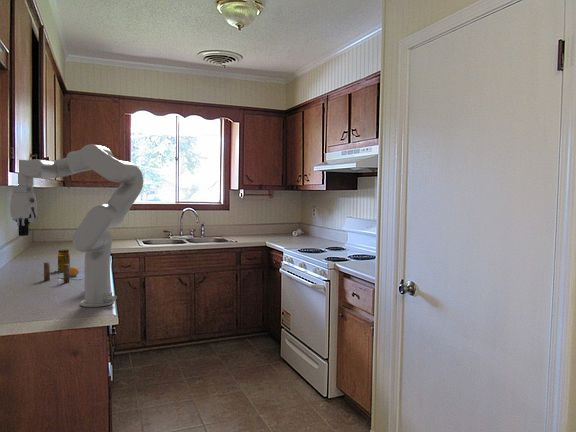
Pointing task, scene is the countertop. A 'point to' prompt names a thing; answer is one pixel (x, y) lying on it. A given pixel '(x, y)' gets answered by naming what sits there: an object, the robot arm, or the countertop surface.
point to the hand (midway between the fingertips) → (23, 235)
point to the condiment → (63, 259)
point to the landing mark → (76, 277)
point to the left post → (47, 271)
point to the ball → (73, 271)
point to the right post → (66, 273)
